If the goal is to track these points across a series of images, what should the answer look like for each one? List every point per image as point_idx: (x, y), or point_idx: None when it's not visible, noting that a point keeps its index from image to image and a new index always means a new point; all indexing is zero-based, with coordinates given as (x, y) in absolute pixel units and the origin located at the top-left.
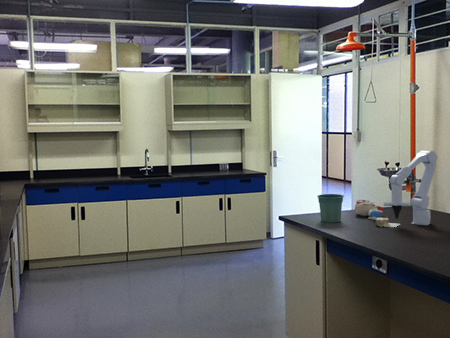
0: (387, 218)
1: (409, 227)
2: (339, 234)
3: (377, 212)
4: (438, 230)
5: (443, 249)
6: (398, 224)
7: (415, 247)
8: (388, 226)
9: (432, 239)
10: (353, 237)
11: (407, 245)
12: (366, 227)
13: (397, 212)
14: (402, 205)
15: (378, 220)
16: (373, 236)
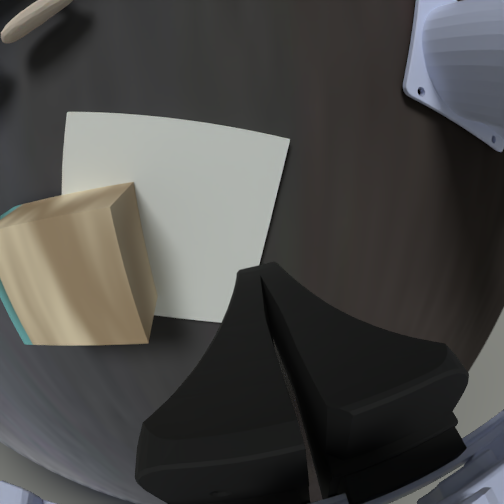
0: (107, 247)
1: (370, 268)
2: (47, 462)
3: None
4: (494, 293)
5: None
6: (265, 183)
7: (316, 495)
8: (168, 315)
9: None
10: (112, 485)
11: None
12: (30, 360)
13: (298, 403)
14: (464, 457)
15: (51, 338)
16: None
